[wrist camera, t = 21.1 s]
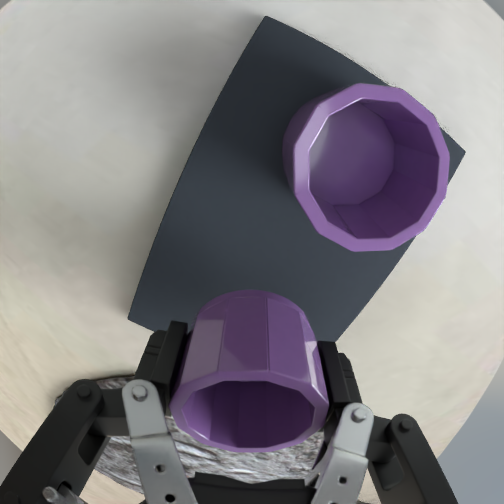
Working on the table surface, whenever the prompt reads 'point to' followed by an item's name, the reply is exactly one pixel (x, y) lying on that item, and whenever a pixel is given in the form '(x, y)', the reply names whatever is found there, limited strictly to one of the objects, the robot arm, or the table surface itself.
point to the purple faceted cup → (250, 375)
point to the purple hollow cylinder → (366, 165)
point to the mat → (260, 200)
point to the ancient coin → (207, 456)
